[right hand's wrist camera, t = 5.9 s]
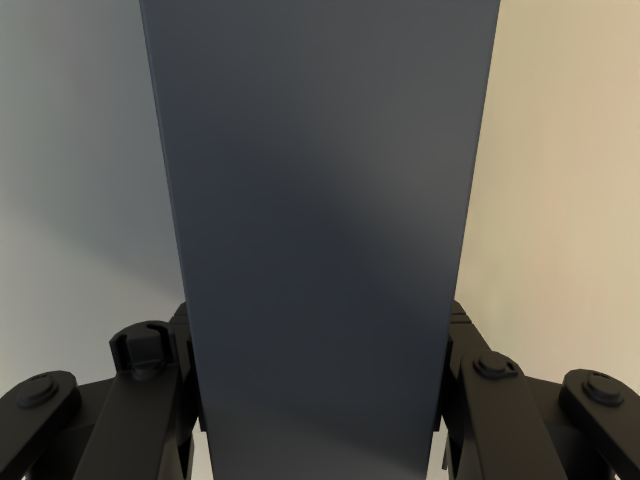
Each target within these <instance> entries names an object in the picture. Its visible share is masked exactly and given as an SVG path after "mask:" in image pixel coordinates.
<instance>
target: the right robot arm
mask: <svg viewBox="0 0 640 480" xmlns="http://www.w3.org/2000/svg"><path fill="white" fill-rule="evenodd" d="M109 344H110V348H111V352H112V356H113V359H114V363H115V367H116V371H117V374H116V376H115V377H114V378H110V379H107V380H103V381H98V382H94V383H89V384H84V385H80V386H78V384H77V381H76V378H75V376H74V375H72V374H71V373H70V372H66V371H52V372H46V373H42V374H39V375H36V376H33V377H31V378H29V379H27V380H25V381H23V382H21V383H19V384H18V385H16V386H15V387H14V388H12V389H11V390H10V391H8V392H7V393H6V394H5V395H4V396H3V397H1V398H0V480H21V479H22V478H23V477H24V476H25V477H26V479H25V480H191V474H192V465H193V455H194V441H193V434H192V430H193V428H194V425H195V423H196V420H197V417H199V423H200V430H201V432H206V427H205V421H204V415H203V408H202V402H201V395H200V389H199V382H198V376H197V369H196V363H195V357H194V350H193V344H192V337H191V331H190V324H189V318H188V311H187V305H186V301H185V302H184V303H182V304H181V305H180V306H179V308H178V309H177V311H176V312H175V314H174V317H172V318H171V320H170V321H169V323H167V322H164V321H145V322H140V323H136V324H134V325H131V326H129V327H126V328H124V329H123V330H121V331H120V332H118V333H117V334H115V335H114V336H113V338H112V339H111V340H110V341H109ZM441 416H443V419H444V421H445V424H446V427H447V429H448V434H447V440H446V446H445V452H444V457H443V464H442V469H443V470H447V465H448V473H449V480H616V479H615V474H617V476H618V477H619V478H620V479H621V480H640V396H639V395H638V394H636V393H635V392H634V391H633V390H632V389H630V388H629V387H628V386H626V385H625V384H624V383H622V382H621V381H619V380H617V379H615V378H613V377H611V376H609V375H606V374H603V373H600V372H597V371H593V370H585V369H577V370H571V371H569V372H568V373H567V374H566V375H565V377H564V380H563V383H562V384H558V383H553V382H549V381H544V380H540V379H535V378H532V377H528V376H525V375H524V373H523V371H522V370H521V369H520V367H519V366H518V364H516V363H515V362H514V361H513V360H511V359H510V358H509V357H507V356H504V355H502V354H500V353H498V352H495V351H491V349H490V348H489V346H488V345H487V343H486V342H485V340H484V339H483V337H482V336H481V334H480V333H479V332H478V330H477V329H476V327H475V326H474V324H472V321H471V320H470V318H469V317H468V315H466V312H465V311H464V310H463V308H462V307H461V305H460V304H459V303H458V302H457V301H455V300H454V302H453V309H452V315H451V321H450V328H449V334H448V341H447V347H446V354H445V360H444V367H443V373H442V379H441V386H440V392H439V399H438V405H437V412H436V418H435V425H434V431H433V432H439V428H440V422H441Z"/></svg>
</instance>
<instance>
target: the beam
mask: <svg viewBox="0 0 640 480" xmlns="http://www.w3.org/2000/svg"><path fill="white" fill-rule="evenodd" d="M139 2H140V9H141V15H142V22H143V28H144V35H145V41H146V47H147V54H148V60H149V67H150V73H151V80H152V86H153V92H154V99H155V105H156V112H157V118H158V125H159V131H160V138H161V144H162V150H163V157H164V163H165V170H166V176H167V183H168V189H169V196H170V202H171V208H172V215H173V221H174V228H175V234H176V241H177V247H178V253H179V260H180V266H181V273H182V279H183V286H184V292H185V299H186V305H187V311H188V318H189V324H190V331H191V337H192V344H193V350H194V357H195V363H196V369H197V376H198V382H199V389H200V395H201V402H202V408H203V415H204V421H205V427H206V434H207V440H208V447H209V453H210V460H211V466H212V472H213V479H214V480H426V476H427V470H428V463H429V457H430V450H431V444H432V437H433V431H434V425H435V418H436V412H437V405H438V399H439V392H440V386H441V379H442V373H443V367H444V360H445V354H446V347H447V341H448V334H449V328H450V321H451V315H452V309H453V302H454V296H455V289H456V283H457V276H458V270H459V263H460V257H461V251H462V244H463V238H464V231H465V225H466V218H467V212H468V206H469V199H470V193H471V186H472V180H473V173H474V167H475V160H476V154H477V148H478V141H479V135H480V128H481V122H482V115H483V109H484V102H485V96H486V90H487V83H488V77H489V70H490V64H491V57H492V51H493V44H494V38H495V32H496V25H497V19H498V12H499V6H500V0H139Z"/></svg>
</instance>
